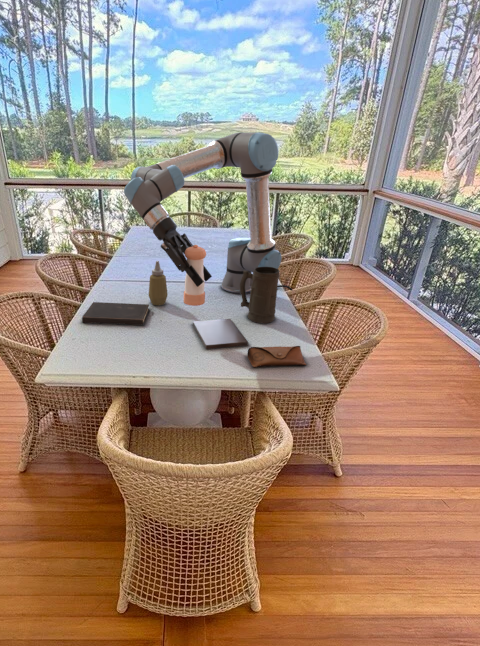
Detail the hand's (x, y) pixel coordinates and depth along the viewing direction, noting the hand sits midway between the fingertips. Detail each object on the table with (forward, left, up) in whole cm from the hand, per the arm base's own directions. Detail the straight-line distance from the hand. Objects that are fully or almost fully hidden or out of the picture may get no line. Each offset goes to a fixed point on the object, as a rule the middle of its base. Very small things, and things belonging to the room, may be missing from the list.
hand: (204, 281), depth 129 cm
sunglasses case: (-20, +20, -21) cm, 35 cm away
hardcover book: (+28, -25, -21) cm, 43 cm away
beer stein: (-26, -15, -21) cm, 37 cm away
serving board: (-7, -2, -21) cm, 22 cm away
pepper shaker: (+3, -2, -8) cm, 9 cm away
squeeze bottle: (+10, -36, -21) cm, 43 cm away
